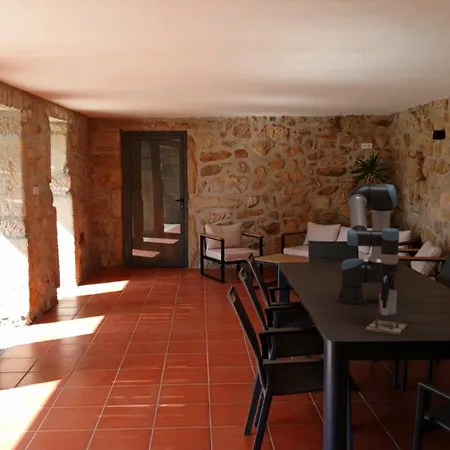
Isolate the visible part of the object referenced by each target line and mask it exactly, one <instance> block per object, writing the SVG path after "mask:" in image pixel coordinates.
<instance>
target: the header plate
mask: <svg viewBox="0 0 450 450" xmlns="http://www.w3.org/2000/svg"><path fill="white" fill-rule="evenodd" d="M407 326H408V324H407V323H404V322H403V323H401V322H399V321H395V322H394V321H387V320H381V319H379V318H374V321H372V323H370V324H369V325H367V326H366V328H365V330H366V331H370V332H377V333H385V334H390V335H397V336H398V335H400V334H401V333H402V331H404V329H406V327H407Z"/></svg>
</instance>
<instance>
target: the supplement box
mask: <svg viewBox="0 0 450 450" xmlns="http://www.w3.org/2000/svg"><path fill="white" fill-rule="evenodd" d="M381 289H382V288H379V294H378V314H380V315H381V313H382V300H380V299H381ZM397 296H398V290H396V289H395V290H394V289H390V288H389V295H388V301H389V302H388V315H383V316H384V317H392V316H393V317H394V316H396V315H397V304H398V303H397V298H398V297H397Z"/></svg>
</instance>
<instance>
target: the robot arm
mask: <svg viewBox="0 0 450 450" xmlns="http://www.w3.org/2000/svg"><path fill="white" fill-rule="evenodd" d="M347 205H348V208H349V213H350V217H349V218H350V229H348V230H347V233H346V244H347V245H348V246H353V247H354V246H355V247H371V255H370V256H369V257H368V259H367V261H365V259H364V258H355V257H354V258H348V259H345V260H343V261H342V262H341V277H340V278H341V280H340V283H341V284H340V285H341V286H340V288H339V291H338V294H337V301H338V302H339V303H342V304H348V305H362V304H365V303H366V302H367V298H366V294H365V291H364V284H376V285H377V284H380V285H381V288H380V289H381V299H380V300H382V313H381V314H380V315H382V316H384V315H388V302H389V301H388V295H389V288H390V289H394V290H396V287H395V286H396V280H395V279H396V274H395V273H398V271H399V264H398V263H399V243H400V242H399V241H400V230H399V229H398V228H393V227H391V228H390V222H391V213H392V212H394V208H395V207H397V205H398V198H397V190H396V186H395V185H394V184H391V183H390V184H389V183H362V184H359V185H358V186H356V187H354V188H353V189H352V190H351V192H350V193H349V195H348V197H347ZM366 207H370V211H371V212H372V215H373V216H372V230H371V229H370V230H368V223H367V212H366V211H367V210H366Z"/></svg>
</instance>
